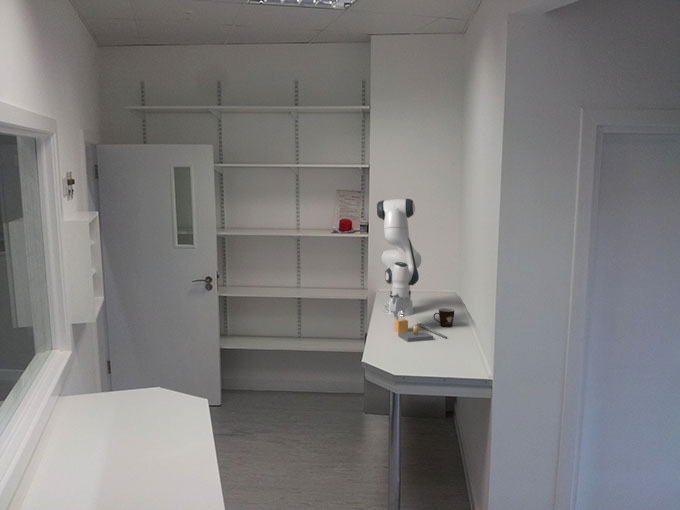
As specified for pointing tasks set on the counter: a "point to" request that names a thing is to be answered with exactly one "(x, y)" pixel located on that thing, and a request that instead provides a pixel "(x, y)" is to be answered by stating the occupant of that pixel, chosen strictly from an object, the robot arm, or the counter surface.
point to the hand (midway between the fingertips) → (399, 318)
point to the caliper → (431, 329)
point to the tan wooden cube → (401, 325)
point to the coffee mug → (445, 317)
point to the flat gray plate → (415, 335)
